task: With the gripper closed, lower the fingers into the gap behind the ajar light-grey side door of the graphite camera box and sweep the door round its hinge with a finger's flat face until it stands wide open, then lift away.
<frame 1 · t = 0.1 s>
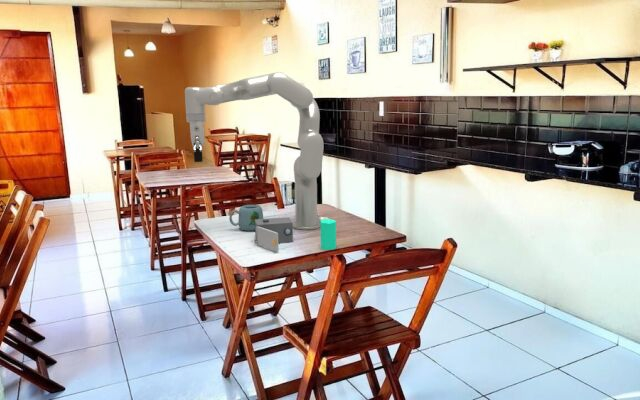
hand: (198, 160, 216), 31 cm above the table, fingers open, 9 cm apart
camera body: (273, 240, 211), on the table
mug: (247, 229, 229), on the table
side door: (266, 238, 199), point 4 cm above the table, hinge at 62.0°
candle: (328, 248, 201), on the table
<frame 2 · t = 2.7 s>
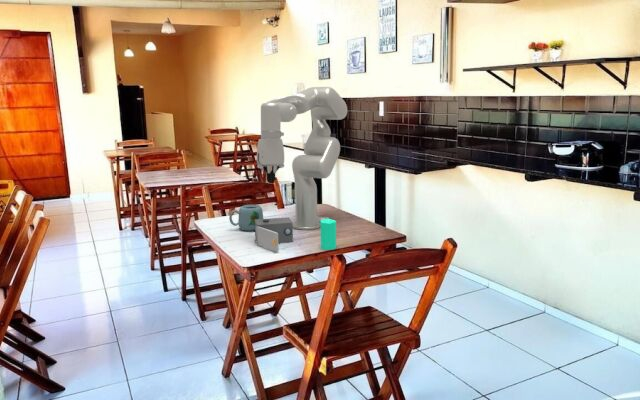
hand: (270, 182, 205), 24 cm above the table, fingers closed
nothing on the table moved.
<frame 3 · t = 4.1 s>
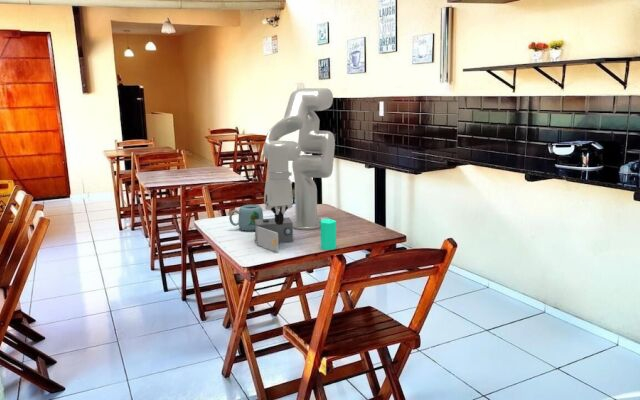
hand: (279, 223, 199), 9 cm above the table, fingers closed
nothing on the table moved.
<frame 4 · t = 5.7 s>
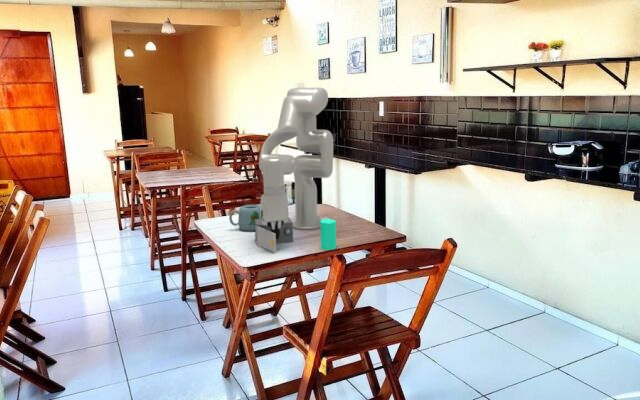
hand: (275, 238, 199), 4 cm above the table, fingers closed
side door: (265, 239, 199), point 4 cm above the table, hinge at 67.0°, touching gripper
everything else where it was.
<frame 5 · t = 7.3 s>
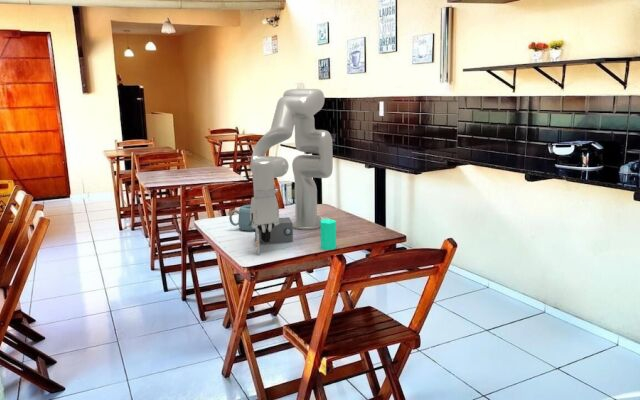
hand: (266, 241, 196), 4 cm above the table, fingers closed
side door: (257, 239, 198), point 4 cm above the table, hinge at 94.8°, touching gripper
everything else where it was.
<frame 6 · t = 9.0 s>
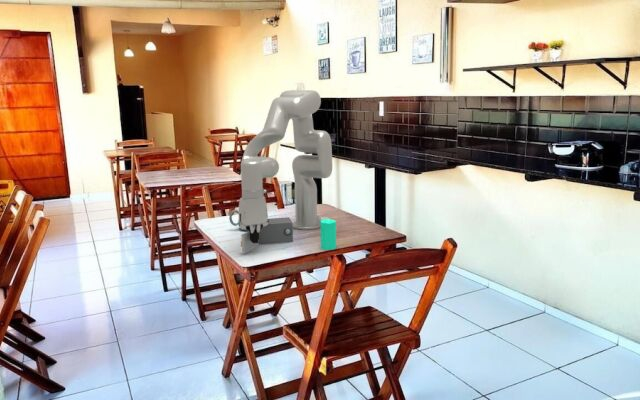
hand: (254, 242, 195), 4 cm above the table, fingers closed
side door: (250, 239, 198), point 4 cm above the table, hinge at 120.4°, touching gripper
everything else where it was.
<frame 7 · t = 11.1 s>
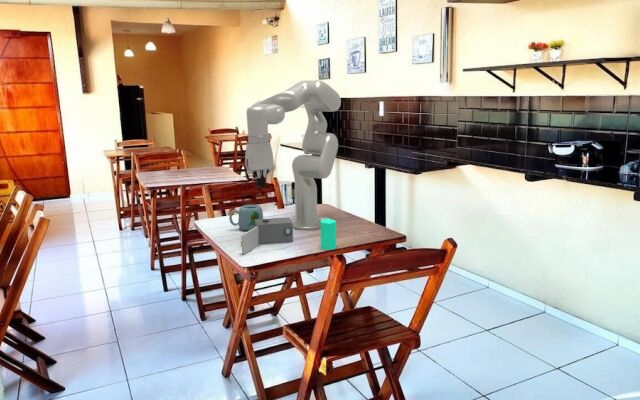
hand: (261, 187, 202), 23 cm above the table, fingers closed
side door: (250, 239, 198), point 4 cm above the table, hinge at 120.6°
everything else where it was.
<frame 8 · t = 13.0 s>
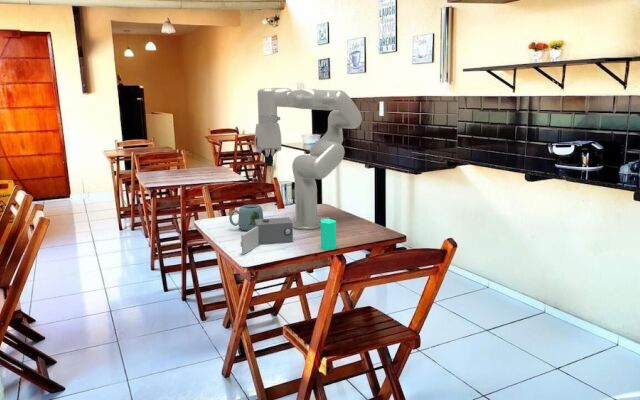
hand: (269, 165, 213), 29 cm above the table, fingers closed
nothing on the table moved.
at the end: side door at +121° (first picture: +62°) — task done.
